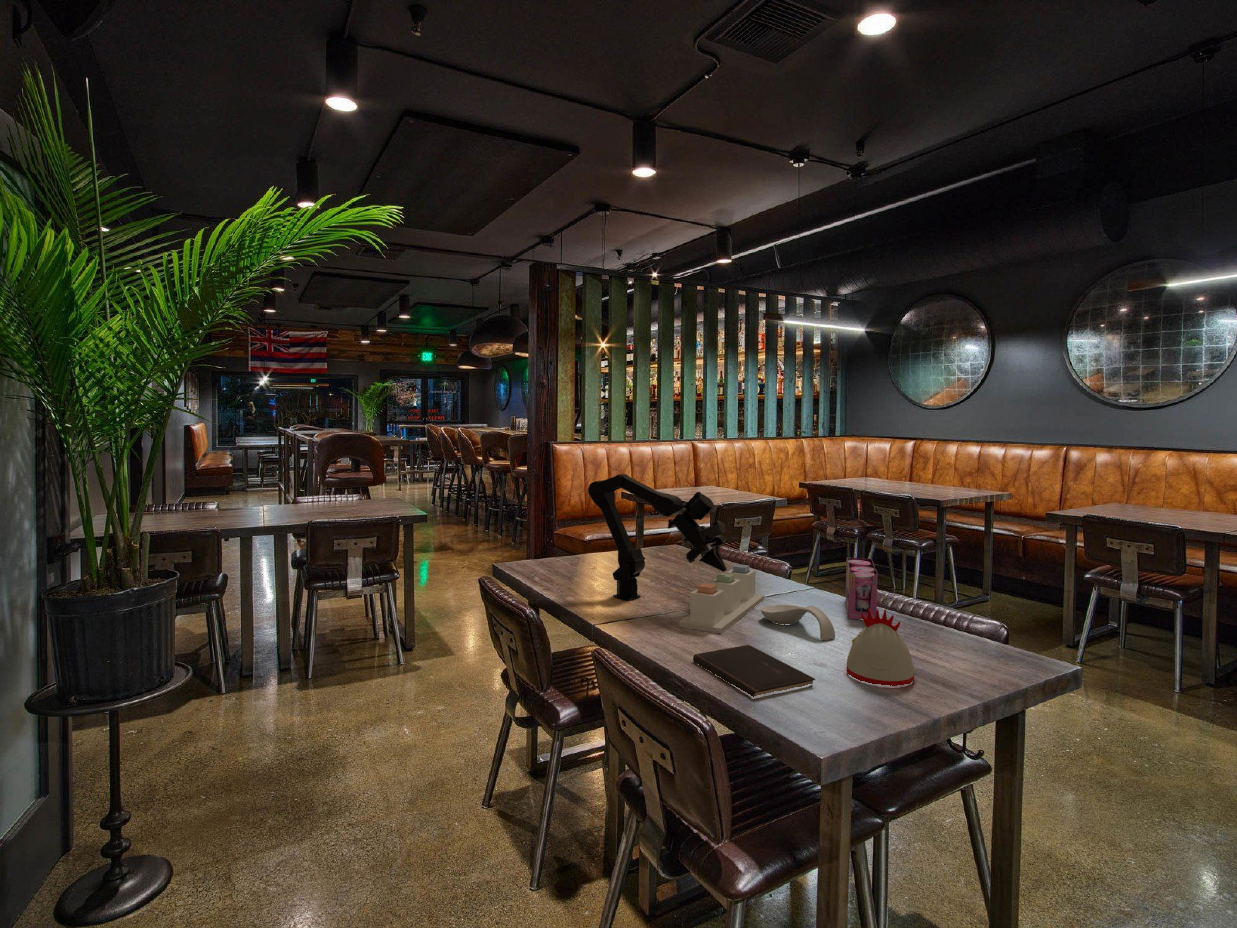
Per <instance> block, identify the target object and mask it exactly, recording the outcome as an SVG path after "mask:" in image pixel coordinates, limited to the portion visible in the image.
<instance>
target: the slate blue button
mask: <svg viewBox="0 0 1237 928" xmlns="http://www.w3.org/2000/svg"><path fill="white" fill-rule="evenodd" d="M732 569H733V572H734V573H743V574H747V573H749V570H750V564H749V565H746V564H741V563H737V564H735V565H733V566H732Z"/></svg>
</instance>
